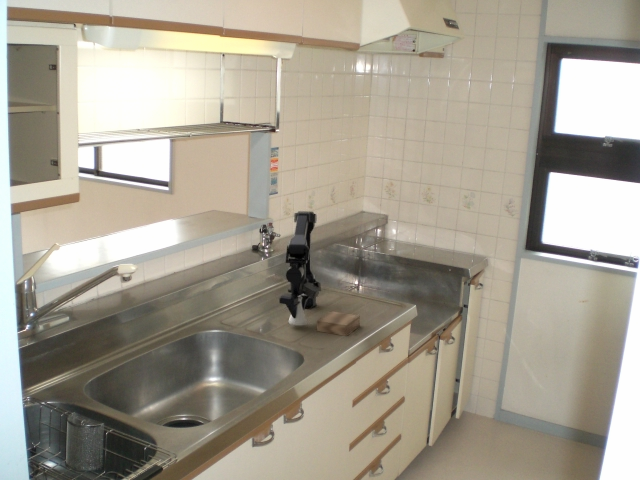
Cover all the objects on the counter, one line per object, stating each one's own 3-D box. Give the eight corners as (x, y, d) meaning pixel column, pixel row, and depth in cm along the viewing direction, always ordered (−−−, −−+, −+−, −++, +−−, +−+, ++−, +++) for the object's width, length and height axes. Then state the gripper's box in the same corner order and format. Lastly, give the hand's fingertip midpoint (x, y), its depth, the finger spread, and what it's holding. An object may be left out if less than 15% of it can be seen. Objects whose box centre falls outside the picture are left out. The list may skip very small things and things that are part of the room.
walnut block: (317, 330, 257) (317, 320, 256) (331, 321, 267) (331, 311, 267) (346, 335, 252) (346, 325, 251) (359, 325, 262) (359, 315, 261)
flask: (293, 327, 255) (293, 301, 253) (285, 321, 261) (284, 295, 259) (311, 324, 259) (311, 298, 256) (302, 318, 265) (302, 293, 263)
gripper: (305, 285, 244) (305, 327, 248) (328, 272, 261) (328, 311, 264) (277, 281, 249) (278, 322, 253) (302, 268, 265) (302, 307, 269)
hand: (298, 315), depth 259 cm, fingers closed on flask, 5 cm apart
